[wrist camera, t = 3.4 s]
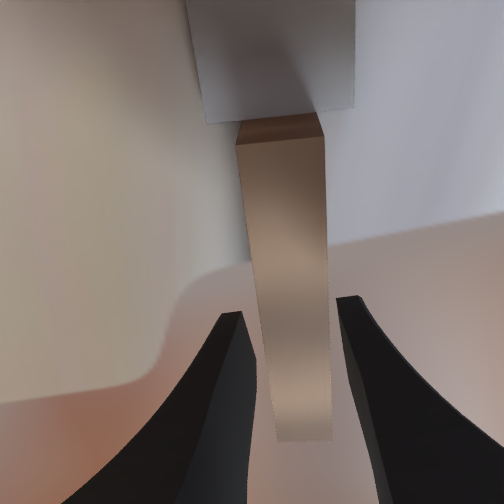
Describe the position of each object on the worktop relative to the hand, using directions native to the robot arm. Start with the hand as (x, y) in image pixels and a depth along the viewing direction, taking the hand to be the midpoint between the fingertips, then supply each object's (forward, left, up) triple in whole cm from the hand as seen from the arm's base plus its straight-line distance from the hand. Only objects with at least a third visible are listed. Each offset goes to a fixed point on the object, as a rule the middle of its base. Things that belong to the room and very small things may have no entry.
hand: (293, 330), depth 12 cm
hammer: (0, 0, -6) cm, 6 cm away
